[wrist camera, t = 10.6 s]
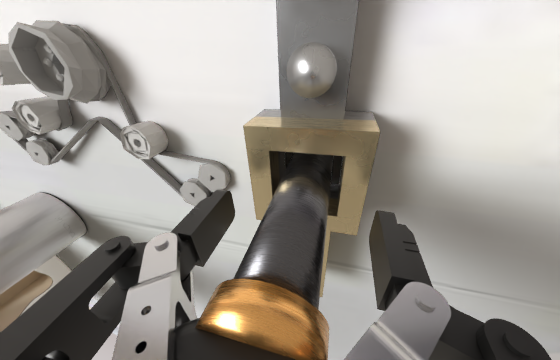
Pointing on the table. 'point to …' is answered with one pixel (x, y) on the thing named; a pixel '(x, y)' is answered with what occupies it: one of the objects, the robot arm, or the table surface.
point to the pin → (281, 270)
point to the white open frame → (30, 290)
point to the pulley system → (81, 87)
